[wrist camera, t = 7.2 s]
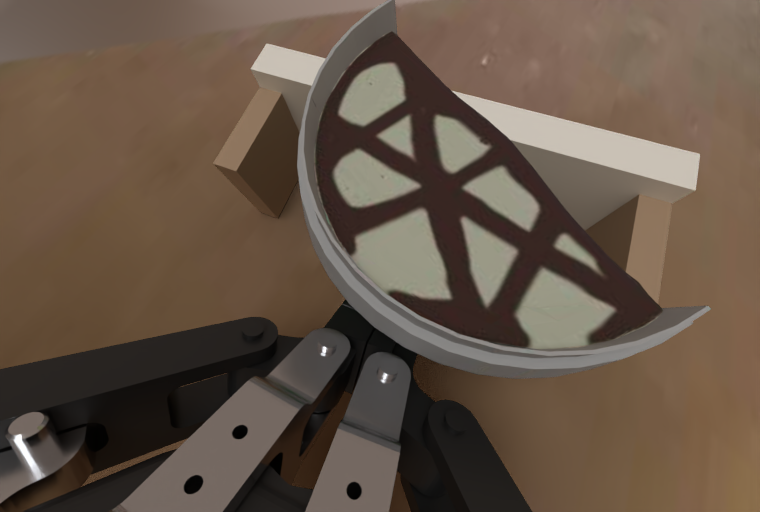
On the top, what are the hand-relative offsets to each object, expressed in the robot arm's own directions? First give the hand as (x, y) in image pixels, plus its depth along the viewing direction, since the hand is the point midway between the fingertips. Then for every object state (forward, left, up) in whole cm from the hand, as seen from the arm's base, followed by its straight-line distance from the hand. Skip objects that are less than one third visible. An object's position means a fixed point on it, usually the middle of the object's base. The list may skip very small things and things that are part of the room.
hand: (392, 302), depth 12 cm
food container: (0, +2, -5) cm, 5 cm away
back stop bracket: (0, +5, -4) cm, 7 cm away
